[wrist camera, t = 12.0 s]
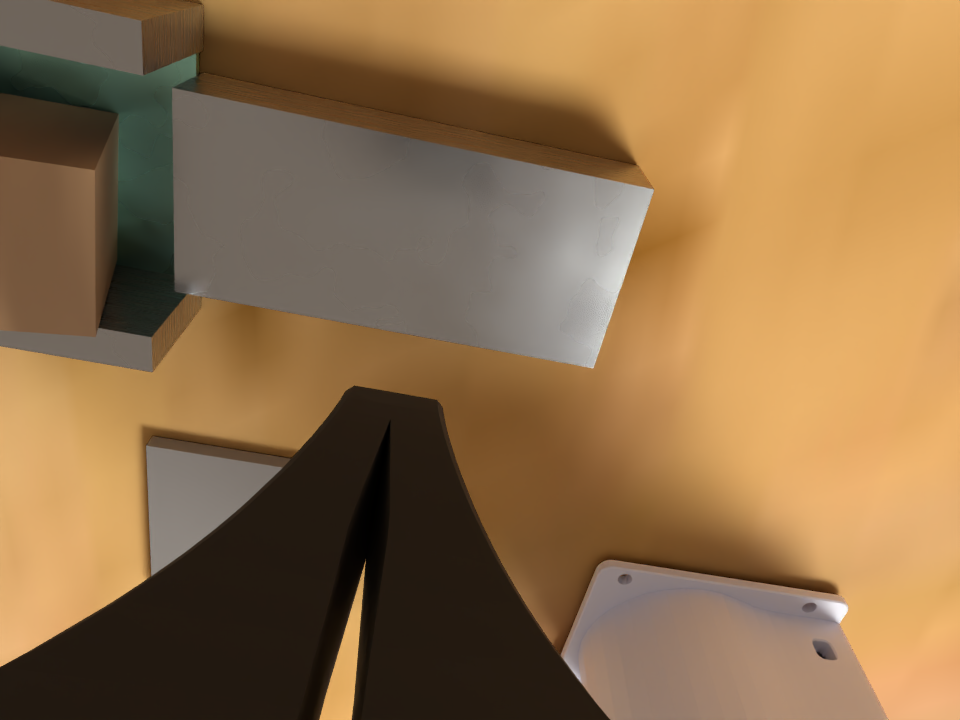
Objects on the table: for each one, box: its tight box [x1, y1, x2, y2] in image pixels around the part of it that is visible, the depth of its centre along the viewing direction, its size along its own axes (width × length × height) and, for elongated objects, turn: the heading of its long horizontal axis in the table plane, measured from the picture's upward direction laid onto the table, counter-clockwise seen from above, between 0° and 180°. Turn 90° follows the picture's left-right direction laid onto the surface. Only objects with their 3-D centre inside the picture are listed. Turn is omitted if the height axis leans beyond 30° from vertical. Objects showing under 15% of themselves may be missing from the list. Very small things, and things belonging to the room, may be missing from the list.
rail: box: [0, 0, 654, 372], centre depth 17 cm, size 18×8×4 cm, turn 78°
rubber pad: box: [146, 436, 290, 576], centre depth 25 cm, size 7×7×1 cm
